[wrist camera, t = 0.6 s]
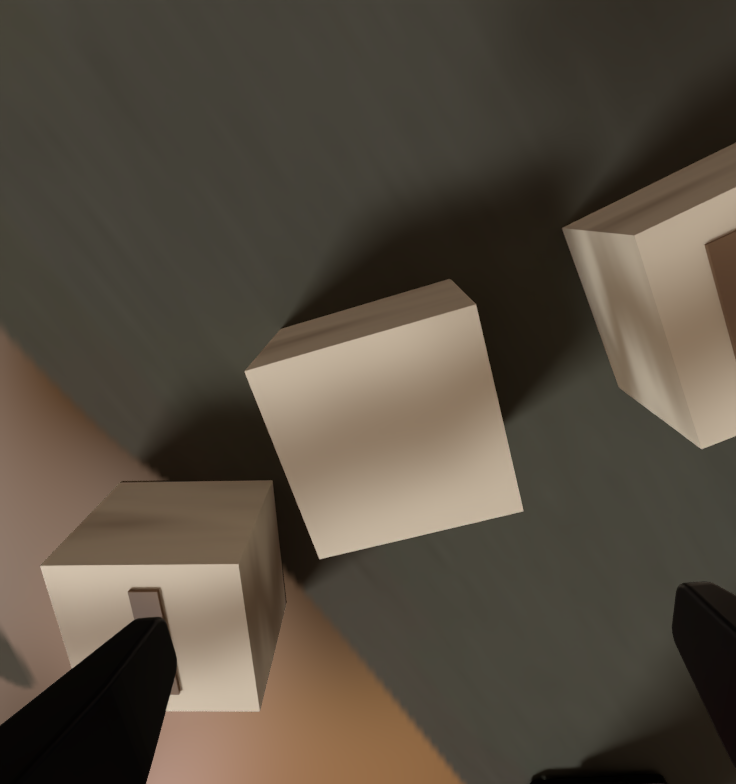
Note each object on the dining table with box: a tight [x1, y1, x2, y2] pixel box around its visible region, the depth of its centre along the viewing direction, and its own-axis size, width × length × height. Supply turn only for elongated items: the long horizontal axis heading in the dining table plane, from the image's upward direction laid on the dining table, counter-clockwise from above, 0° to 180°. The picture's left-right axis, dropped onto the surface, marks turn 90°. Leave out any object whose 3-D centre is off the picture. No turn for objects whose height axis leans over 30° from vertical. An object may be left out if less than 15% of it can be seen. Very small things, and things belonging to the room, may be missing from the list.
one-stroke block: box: [40, 480, 287, 711], centre depth 18 cm, size 6×6×5 cm
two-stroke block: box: [562, 143, 736, 449], centre depth 14 cm, size 6×6×5 cm
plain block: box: [244, 279, 523, 559], centre depth 16 cm, size 6×6×5 cm
